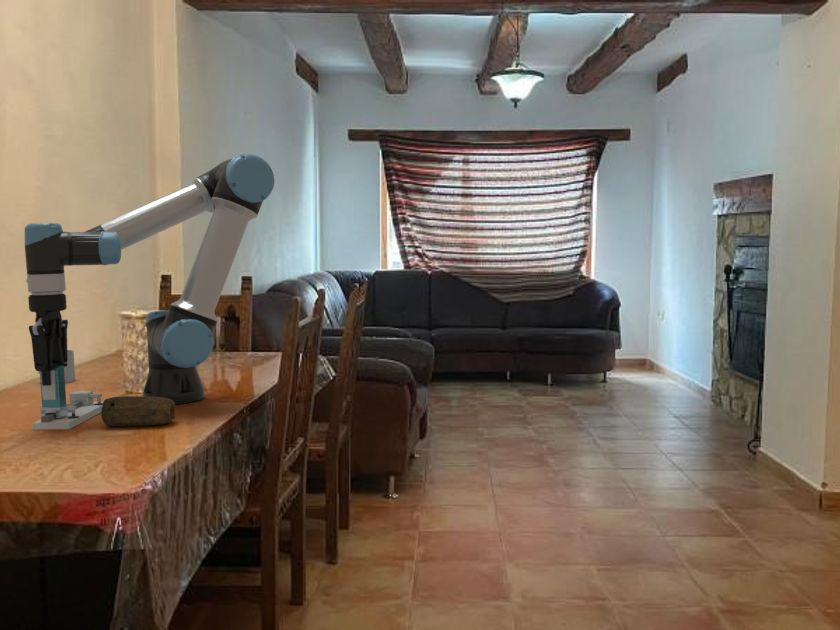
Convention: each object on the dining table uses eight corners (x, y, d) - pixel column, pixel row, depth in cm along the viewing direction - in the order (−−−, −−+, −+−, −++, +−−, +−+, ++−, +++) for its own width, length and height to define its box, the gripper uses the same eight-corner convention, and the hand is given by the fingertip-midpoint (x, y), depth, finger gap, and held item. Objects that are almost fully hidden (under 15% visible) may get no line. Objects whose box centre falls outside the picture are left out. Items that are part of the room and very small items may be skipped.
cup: (72, 383, 226) (70, 352, 225) (35, 385, 223) (33, 354, 222) (77, 378, 233) (75, 349, 232) (41, 380, 230) (39, 351, 229)
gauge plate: (109, 407, 190) (108, 389, 190) (69, 429, 168) (68, 408, 168) (77, 408, 190) (76, 390, 190) (32, 429, 168) (31, 409, 168)
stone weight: (100, 431, 166) (98, 401, 166) (108, 424, 173) (106, 394, 173) (172, 427, 169) (170, 397, 168) (177, 420, 176) (175, 391, 175)
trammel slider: (79, 413, 175) (76, 364, 174) (71, 417, 171) (68, 367, 170) (49, 414, 175) (46, 364, 174) (40, 418, 171) (37, 367, 170)
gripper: (47, 291, 179) (54, 391, 181) (10, 296, 162) (18, 405, 165) (80, 290, 178) (86, 390, 181) (46, 295, 162) (53, 405, 165)
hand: (53, 397), depth 173 cm, fingers closed on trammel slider, 3 cm apart
